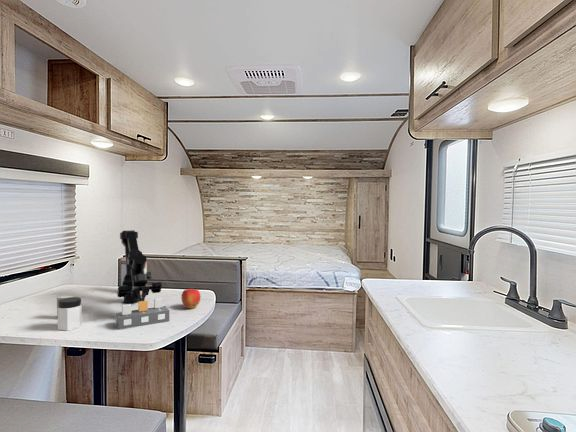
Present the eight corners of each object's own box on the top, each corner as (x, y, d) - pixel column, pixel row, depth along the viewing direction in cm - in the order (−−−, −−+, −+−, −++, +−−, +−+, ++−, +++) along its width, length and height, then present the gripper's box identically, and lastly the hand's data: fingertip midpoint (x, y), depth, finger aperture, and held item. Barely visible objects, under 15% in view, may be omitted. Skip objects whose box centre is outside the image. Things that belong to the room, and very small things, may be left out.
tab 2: (138, 310, 155) (138, 301, 155) (146, 309, 157) (146, 300, 157) (139, 311, 153) (139, 302, 153) (147, 310, 155) (147, 301, 155)
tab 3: (154, 307, 160) (154, 298, 160) (161, 306, 162) (161, 297, 162) (154, 308, 159) (154, 299, 158) (162, 307, 161) (162, 298, 160)
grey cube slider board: (116, 323, 153) (116, 312, 153) (165, 316, 164) (165, 305, 164) (118, 329, 146) (118, 317, 146) (169, 321, 157) (169, 310, 157)
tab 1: (121, 314, 150) (121, 305, 149) (130, 312, 152) (130, 303, 151) (122, 315, 148) (122, 306, 148) (131, 314, 150) (131, 304, 150)
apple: (200, 310, 174) (200, 290, 174) (180, 311, 172) (180, 291, 172) (200, 304, 183) (200, 286, 183) (182, 305, 181) (182, 286, 181)
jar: (78, 322, 154) (78, 295, 153) (85, 326, 149) (85, 299, 148) (54, 327, 147) (54, 299, 147) (61, 332, 142) (61, 303, 141)
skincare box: (74, 317, 161) (73, 295, 161) (66, 320, 157) (66, 298, 156) (64, 316, 162) (64, 295, 161) (56, 319, 157) (56, 297, 157)
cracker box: (147, 293, 203) (147, 258, 203) (139, 296, 198) (139, 260, 197) (128, 291, 208) (128, 257, 207) (120, 293, 202) (120, 258, 201)
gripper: (118, 268, 155) (121, 298, 146) (161, 264, 165) (166, 292, 156) (116, 282, 162) (119, 311, 153) (157, 278, 172) (162, 305, 163)
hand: (142, 305), depth 156 cm, fingers closed, pressing on tab 2
